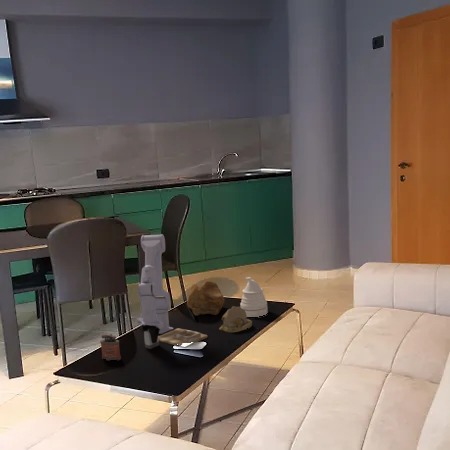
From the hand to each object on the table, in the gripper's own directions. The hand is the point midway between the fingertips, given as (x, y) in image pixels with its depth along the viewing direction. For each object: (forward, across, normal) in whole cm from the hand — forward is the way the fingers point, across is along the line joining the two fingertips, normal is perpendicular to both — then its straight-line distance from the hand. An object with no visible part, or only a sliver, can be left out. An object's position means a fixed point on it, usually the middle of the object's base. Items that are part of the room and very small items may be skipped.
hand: (151, 342), depth 232 cm
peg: (+2, 0, 0) cm, 2 cm away
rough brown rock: (+2, -11, +47) cm, 48 cm away
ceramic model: (+2, +15, +36) cm, 39 cm away
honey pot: (+2, +10, +56) cm, 57 cm away
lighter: (+2, -4, -18) cm, 19 cm away
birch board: (+2, +4, +13) cm, 14 cm away
